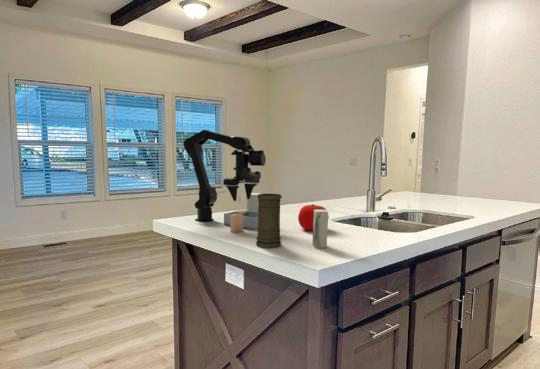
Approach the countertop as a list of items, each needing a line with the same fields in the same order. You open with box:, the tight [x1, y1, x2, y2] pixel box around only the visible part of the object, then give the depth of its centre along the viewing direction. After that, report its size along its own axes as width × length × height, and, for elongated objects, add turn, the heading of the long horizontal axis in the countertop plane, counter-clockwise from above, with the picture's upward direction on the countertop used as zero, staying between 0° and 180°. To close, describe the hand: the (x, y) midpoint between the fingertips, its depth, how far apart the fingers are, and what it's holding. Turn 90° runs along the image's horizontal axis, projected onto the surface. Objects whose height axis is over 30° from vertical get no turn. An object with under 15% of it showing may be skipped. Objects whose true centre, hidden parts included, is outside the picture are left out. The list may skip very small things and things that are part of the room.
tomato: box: [297, 203, 330, 232], centre depth 161 cm, size 12×13×11 cm
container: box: [255, 193, 282, 249], centre depth 134 cm, size 9×9×18 cm
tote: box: [223, 209, 258, 231], centre depth 169 cm, size 17×13×5 cm
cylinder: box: [230, 214, 244, 234], centre depth 155 cm, size 5×5×7 cm
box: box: [311, 209, 329, 249], centre depth 133 cm, size 5×4×13 cm
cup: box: [245, 192, 262, 212], centre depth 185 cm, size 8×8×12 cm
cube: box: [233, 209, 249, 217], centre depth 171 cm, size 5×5×5 cm
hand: (241, 200), depth 170 cm, fingers open, 9 cm apart
